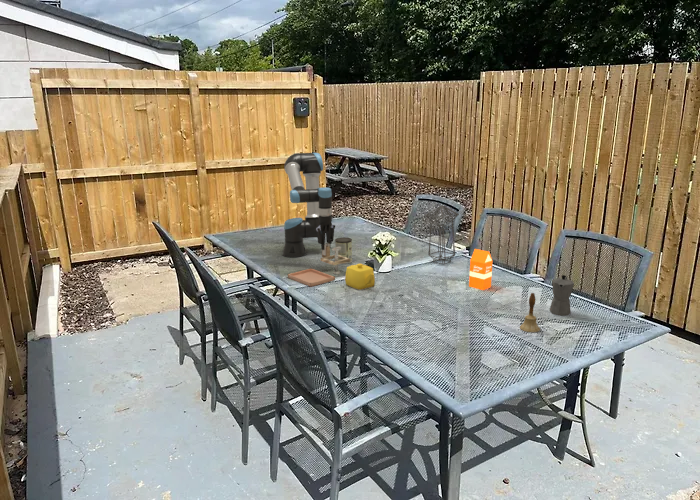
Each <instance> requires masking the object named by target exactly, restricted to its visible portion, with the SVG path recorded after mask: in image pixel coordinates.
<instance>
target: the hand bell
mask: <svg viewBox="0 0 700 500" xmlns="http://www.w3.org/2000/svg"><path fill="white" fill-rule="evenodd" d="M528 305H529V311H528V314H527V315H526V316H524V321H523V323H522V324H521V325H520V326H519V329H520V330H521V331H523V332H526V333H537V332H540V331H541V328H540V327H539V325H538V323H537V317H536V316H535V315H534V308H535V305H536V295H535V293H534V292H531V293H530V296H529V299H528Z"/></svg>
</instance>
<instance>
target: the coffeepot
mask: <svg viewBox="0 0 700 500" xmlns="http://www.w3.org/2000/svg"><path fill="white" fill-rule="evenodd" d="M551 281H552V282H551V284H552V294H553V297H552V300H551V303H550V308H549V312H550V313H551V314H553V315H555V316H561V317H566V316H570V315H571V314H572V313H571V312H572V311H571V301H570V297H571V296H572V293H573V292H572V291H573V289H574V286H575V282H573V280H571V279H568V276H566V275H565V274H562V275H561V278H554V279H552V280H551Z"/></svg>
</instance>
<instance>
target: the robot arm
mask: <svg viewBox="0 0 700 500" xmlns="http://www.w3.org/2000/svg"><path fill="white" fill-rule="evenodd" d="M283 167H284V172H285V174H286V175H287V178H288V181H289V184H290V185H289V186H290V188H291V190H290V191H289V201H290V203H292V204H303V203H306V210H307V213H306V215H305V217H304V219H303V218H302V217H293V218H287V220H285V221H284V226H283V227H284V228H283V229H284V245H283V250H282V256H284V257H287V258H299V257H304V256H305V255H307V250H306V247H305V246H306V245H305V244H304V239H310V238H311V239H313V238H317V243H318V244H319V245H320V249H321V256H322V255H325V256H326V246H329V247H330V248H331V244H332V243H333V242H334V237H335V236H334V235H335V229H336V224H333V215H332V214H333V212H332V211H333V210H332V209H333V208H332V205H333V204H332V203H333V201H332V200H333V198H332V197H333V193H332V188H330V187H320V178H319V177H320V176H321V174H322V171H323V170H324V162H323V158H322V155H321V154H320V153H319V152H297V153H292V154H291V155H289V156H288V157H287V158H286V160H285V162H284V166H283ZM301 172H302V174H301ZM301 175H303V176H304V178H305V186H304V182H303V179H302V176H301Z"/></svg>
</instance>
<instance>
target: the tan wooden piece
mask: <svg viewBox="0 0 700 500" xmlns="http://www.w3.org/2000/svg"><path fill="white" fill-rule="evenodd" d="M332 259H335V254H332V255H331V246H330V247H329V246H326V256H325V255H322V254H321V257H320V262H323V263H326V264H329V265H331V266H335V265H338V266H339V265H341V263H345V262H349V261H350V259H349V258H346V257H343V256H340V255H338V259H341V260H339V261H335V260H334V261H333V260H332Z"/></svg>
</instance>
